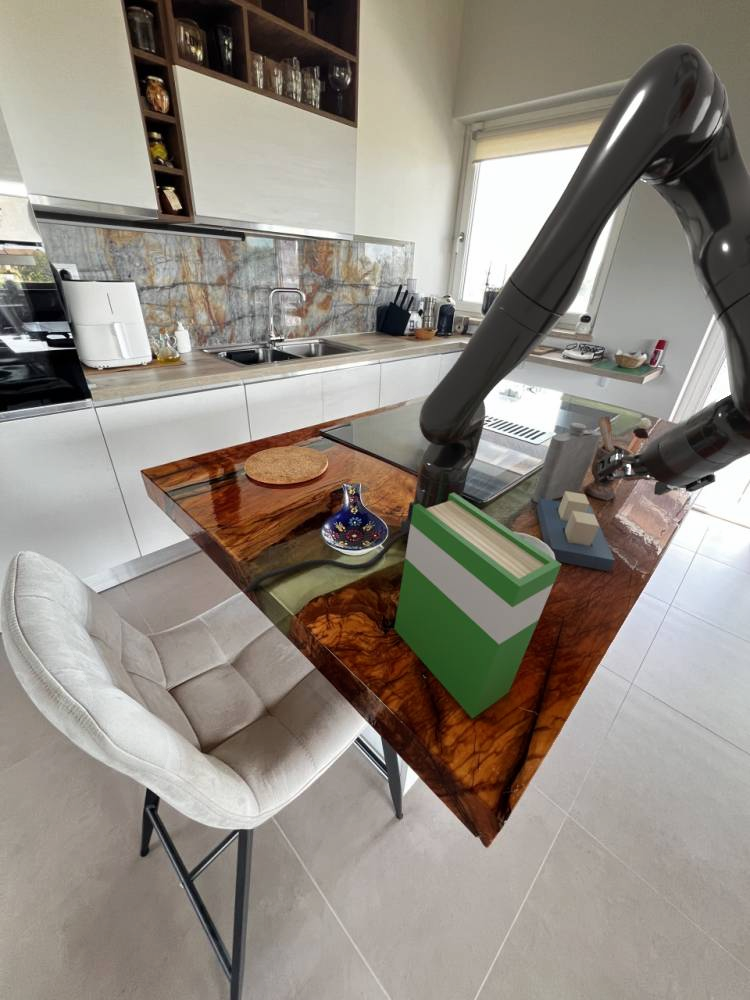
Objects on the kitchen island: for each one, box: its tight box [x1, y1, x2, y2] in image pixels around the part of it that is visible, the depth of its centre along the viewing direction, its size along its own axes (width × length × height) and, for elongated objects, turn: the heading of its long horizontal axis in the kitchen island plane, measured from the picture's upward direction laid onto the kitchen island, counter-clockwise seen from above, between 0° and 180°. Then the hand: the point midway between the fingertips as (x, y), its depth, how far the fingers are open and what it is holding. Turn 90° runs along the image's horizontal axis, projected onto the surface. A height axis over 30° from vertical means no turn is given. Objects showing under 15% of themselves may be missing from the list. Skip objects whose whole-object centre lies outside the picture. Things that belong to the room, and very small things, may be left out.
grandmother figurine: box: [627, 417, 652, 455], centre depth 137 cm, size 8×4×13 cm, turn 17°
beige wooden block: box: [558, 491, 590, 521], centre depth 96 cm, size 4×4×8 cm
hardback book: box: [393, 493, 563, 719], centre depth 57 cm, size 18×7×24 cm, turn 34°
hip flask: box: [532, 422, 602, 504], centre depth 106 cm, size 16×4×20 cm, turn 118°
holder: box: [536, 498, 616, 572], centre depth 94 cm, size 12×21×3 cm, turn 168°
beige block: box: [564, 511, 600, 546], centre depth 89 cm, size 4×4×8 cm
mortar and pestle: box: [584, 415, 634, 501], centre depth 110 cm, size 12×9×20 cm
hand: (629, 484), depth 69 cm, fingers open, 8 cm apart
